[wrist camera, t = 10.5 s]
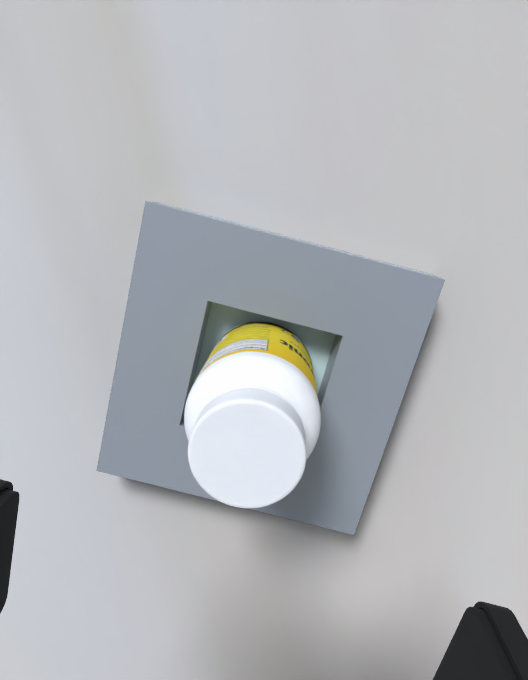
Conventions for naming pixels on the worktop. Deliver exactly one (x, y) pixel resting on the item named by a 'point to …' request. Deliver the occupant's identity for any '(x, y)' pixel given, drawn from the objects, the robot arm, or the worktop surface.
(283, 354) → the supplement bottle
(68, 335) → the worktop surface
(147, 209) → the holder block
